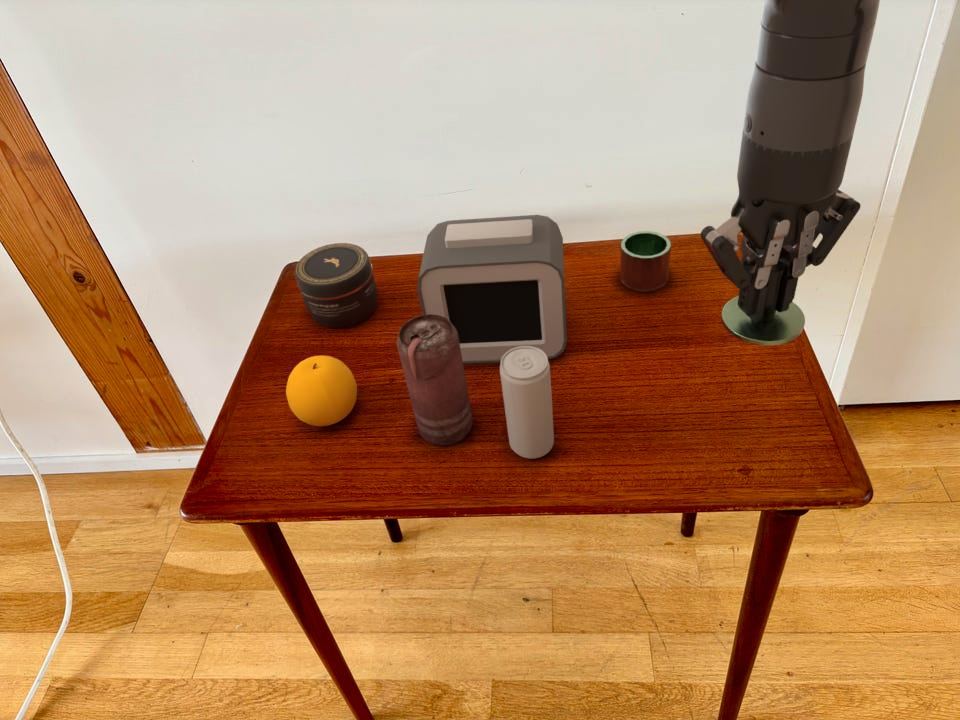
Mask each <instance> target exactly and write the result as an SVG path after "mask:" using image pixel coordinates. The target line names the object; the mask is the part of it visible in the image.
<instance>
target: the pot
mask: <svg viewBox="0 0 960 720" xmlns="http://www.w3.org/2000/svg"><path fill="white" fill-rule="evenodd" d="M671 251H672V244H671V240H670V239H669V238H668V237H667V236H666V235H664V234H662V233H660V232H657V231H651V230H641V231H636V232H635V231H634V232H632V233H629V234H628V235H627V236H625V237H623V239H622V241H621V242H620V266H619V267H620V271H619V274H620V283H621V284H622V285H623V286H624V287H625V288H626V289H628V290H631V291H633V292H636V293H637V292H638V293H651V292H655V291H659V290H661V289H663V287H665V286H666V285H667V283H668V281H669V277H670V263H671Z"/></svg>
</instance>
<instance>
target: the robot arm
mask: <svg viewBox="0 0 960 720" xmlns="http://www.w3.org/2000/svg"><path fill="white" fill-rule="evenodd" d="M880 2H881V1H880V0H764V1H763V6H762V11H761V19H760V24H759V32H758V38H757V39H758V40H757V47H756V56H755V62H754V68H753V70H752V71H753V72H752V76H751V78H750V79H751V80H750V83H749V87H748V90H747V96H746V103H745V111H744V119H743V127H742V132H741V141H740V150H739V155H738V156H739V158H738V165H737V172H736V179H737V186H738V196H737V199H736V201H735V203H734V204H733V206H732V208H731V211H730V218H728V219H727V220H726V221H724V222H723V223H721V225H719V226H718V227H717V228H715V227H714V226H712V225H707V226H705V227H704V228H702V230H701V232H700V238H701V240H702V242H703V243H704V245H705V246H706V248H707V250H708V252H709V254H710V255H711V257H712V259H713V260H714V262H715V264H716V266H717V267H718V269H719V271H720V272H721V274H723V275H724V277H726V278H727V279H728V280H729V281H730V282H731V283H732V284H733V285H734V286H735V287H736V288H737V289H739V291H738V296H739V297H738V298H739V299H738V306H739V308H740V309H741V310H742V311H743V312H744V313H745V314H746V315H747V316H748V317H749V318H750V319H751V320H753V321H754V320H757V319H761V318H762V316H763V311H764V305H765V300H766V294H767V289H768V286H767V285H766V284H767V282H768V279H769V275H770V271H771V268H772V265H776V264H777V262H778V260H779V261H781V262H782V263H783V264H784V266H785V268H784V273H783V278H782V283H781V288H780V293H779V299H778V304H777V309H776V310H777V311H778V312H783V311H786V310H788V309H789V305H790V303H792V302H794V299H795V296H796V292H797V287H798V281H799V278H800V277H801V276H802V275H803V274H804V273H805V271H806V268H807V267H809V266H811V265H812V266H813V267H818V266H820V265H822V263H824V261H825V260H826V258H827V257H828V255H829V254H830V253H831V251H832V250H833V248H835V246H836V244H837V243H838V241H839V240H840V238H841V237H842V236H843V234H844V233H845V231H846V230H847V228H848V227H849V225H850V224H851V223H852V222H853V220H854V218H855V217H856V216H857V214H858V212H859V211H860V210H861V206H862V205H861V203H860V202H859V201H857V200H855V198H854V197H852V196H850V195H849V194H847V193H845V192H843V191H842V190H840V187H841V185H842V183H843V179H844V175H845V172H846V167H847V164H848V159H849V154H850V150H851V146H852V142H853V137H854V133H855V129H856V124H857V121H858V117H859V112H860V109H861V105H862V99H863V96H864V95H863V94H864V83H865V72H866V66H867V61H868V57H869V52H870V48H871V45H872V39H873V35H874V31H875V27H876V22H877V17H878V13H879V9H880V8H879V7H880ZM740 232H741V234H742V236H741V241H740V246H739V245H738V243H739V239H738V236H739V234H740ZM819 235H822V238H821V240H820V241H819V242H818V244H817V245H816V247H815V246H814V243H815V241H816V240H817V239H818V237H819ZM739 249H740V251H741V253H742V255H741V259H740V257H739V256H738V254H737V253H736V252H737V251H738V250H739Z"/></svg>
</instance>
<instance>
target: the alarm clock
mask: <svg viewBox="0 0 960 720" xmlns="http://www.w3.org/2000/svg"><path fill="white" fill-rule="evenodd" d="M564 259H565V258H564V237H563V235H562V232H561V229H560V227H559V224H558V223H557V222H555V221H554V220H553V219H552V218H550V217H549V216H546V215H541V214H529V215H528V214H527V215H516V216H515V215H514V216H512V215H511V216H497V217H483V218H469V219H468V218H466V219H465V218H464V219H453V220H452V219H451V220H446V221H441V222H439V223H436V225H434V227H433V228H432V229H431V230H430V232H429V233H428V234H427V236H426V240H425V245H424V249H423V254H422V260H421V262H420V263H421V264H420V269H419V273H418V277H417V286H416V290H417V296H418V299H419V305H420V309H421V314H422V315H428V314H433V315H440V316H443V317H445V318H447V319H448V320H449V321H450V322H451V323H452V325H453V326H454V327H455V328H456V330H457V332H458V338H459V343H460V349H461V355H462V360H463V365H464V364H465V365H466V364H467V365H469V364H470V365H471V364H492V363H493V364H494V363H495V364H496V363H501V359H502V357H503V355H504V354H505V353H506V352H508V351H509V350H511V349H513V348H516V347H520V346H533V347H536V348H539V349H540V350H542V351H543V352H544V353H545V354H546V356H547V358H548V360H552V359H556V358H557V357H558V356H560V355H561V354H563V352H564V351H565V349H566V346H567V343H568V333H567V330H568V329H567V308H566V304H567V303H566V282H565V281H566V280H565V261H564Z"/></svg>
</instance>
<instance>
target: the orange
mask: <svg viewBox="0 0 960 720" xmlns="http://www.w3.org/2000/svg"><path fill="white" fill-rule="evenodd" d="M286 382H287V383H286V387H285V388H286V389H285V395H286V400H287V402H288V406H289V408H290V411H291V412H292V413H293V414H294V415H295V416H296V418H297V419H298V420H300V421H301V422H304V423H306V424H307V425H310V426H315V427H327V426H331V425H334V424H337V423H339V422H340V421H342V420H343V419H345V418H346V417H347V416H348V415H349V414H350V413H352V410H353V408H354V406H355V405H356V403H357V395H358V385H357V381H356V378H355V376H354V374H353V372H352V370H351V369H350V368H349V367H348V365H346V364H345V363H344V362H343V361H342V360H340V359H338V358H336V357H333V356H331V355H313V356H310V357H307V358H305V359H303V360H302V361H300V362H299V363H298V364H297V365H296V366H295V367H294V368H293V369H292V371H291V372H290V374H289V375H288V379H287V381H286Z"/></svg>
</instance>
